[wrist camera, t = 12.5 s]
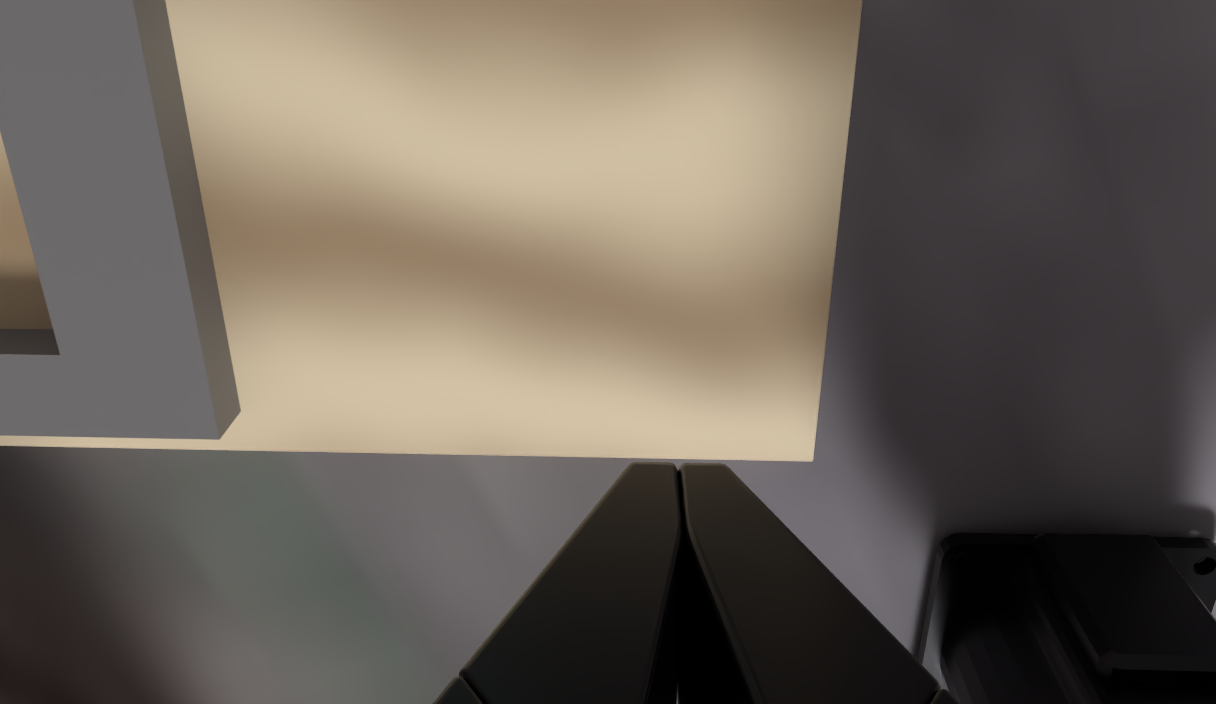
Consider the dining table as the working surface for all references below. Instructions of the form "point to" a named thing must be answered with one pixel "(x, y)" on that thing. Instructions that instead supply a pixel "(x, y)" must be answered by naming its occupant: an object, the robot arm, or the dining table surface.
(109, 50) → the gray square frame
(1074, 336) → the dining table surface
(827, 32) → the patch board
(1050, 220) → the dining table surface
